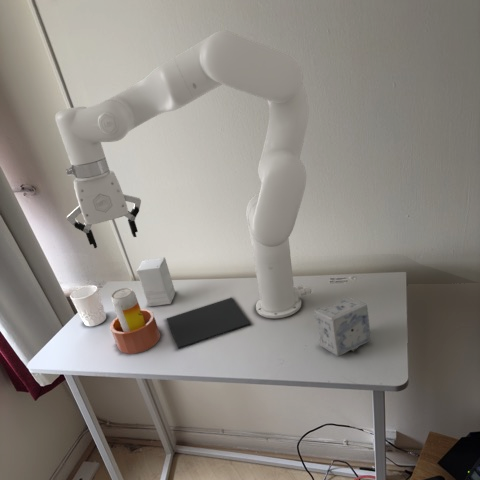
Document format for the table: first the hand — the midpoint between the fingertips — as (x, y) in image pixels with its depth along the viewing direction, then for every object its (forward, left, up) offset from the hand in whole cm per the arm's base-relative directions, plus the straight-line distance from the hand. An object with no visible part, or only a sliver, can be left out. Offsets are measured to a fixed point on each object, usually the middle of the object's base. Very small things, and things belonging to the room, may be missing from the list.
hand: (115, 240), depth 103 cm
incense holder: (-42, +33, -28) cm, 60 cm away
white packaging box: (-7, -16, -28) cm, 33 cm away
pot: (+3, +3, -27) cm, 28 cm away
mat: (-16, +5, -27) cm, 32 cm away
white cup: (+14, -16, -28) cm, 35 cm away
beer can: (+3, +3, -28) cm, 28 cm away
